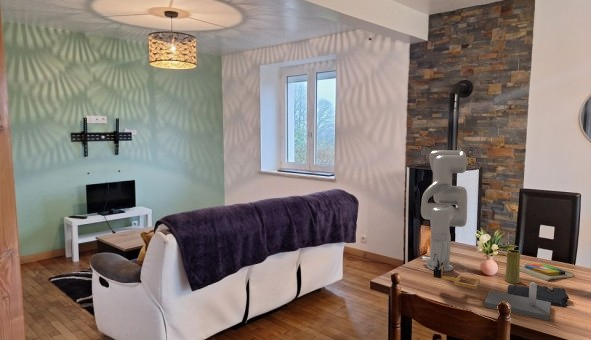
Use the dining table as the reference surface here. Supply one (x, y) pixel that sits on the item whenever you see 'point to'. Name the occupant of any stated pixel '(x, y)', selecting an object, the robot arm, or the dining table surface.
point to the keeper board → (521, 303)
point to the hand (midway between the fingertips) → (438, 275)
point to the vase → (513, 266)
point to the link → (456, 280)
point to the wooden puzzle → (545, 271)
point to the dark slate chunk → (542, 294)
